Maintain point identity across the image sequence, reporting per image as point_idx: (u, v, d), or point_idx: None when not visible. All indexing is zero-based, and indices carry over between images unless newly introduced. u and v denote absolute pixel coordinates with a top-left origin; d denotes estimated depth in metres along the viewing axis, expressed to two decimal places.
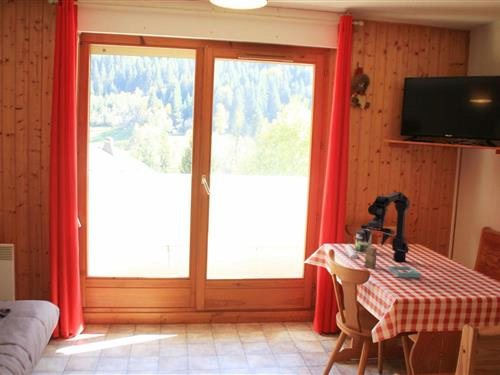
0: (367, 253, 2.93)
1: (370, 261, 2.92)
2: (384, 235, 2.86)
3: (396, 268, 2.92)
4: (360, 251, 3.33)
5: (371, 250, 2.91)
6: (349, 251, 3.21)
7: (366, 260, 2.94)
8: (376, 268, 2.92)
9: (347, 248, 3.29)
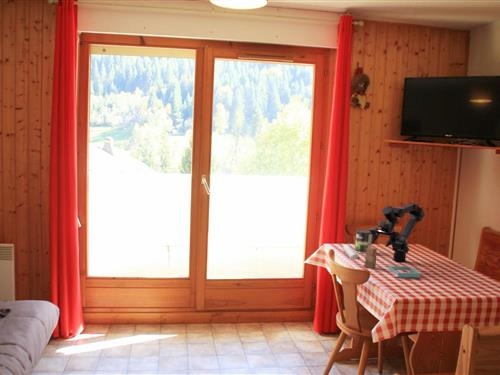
0: (367, 253, 2.93)
1: (370, 261, 2.92)
2: (391, 237, 2.96)
3: (396, 268, 2.92)
4: (360, 251, 3.33)
5: (371, 250, 2.91)
6: (349, 251, 3.21)
7: (366, 260, 2.94)
8: (376, 268, 2.92)
9: (346, 248, 3.29)
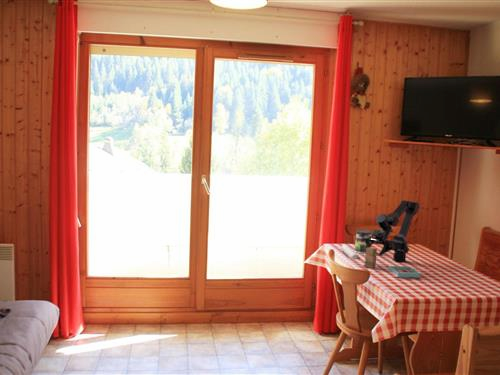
0: (367, 253, 2.93)
1: (370, 261, 2.92)
2: (385, 245, 2.92)
3: (396, 268, 2.92)
4: (360, 251, 3.33)
5: (371, 250, 2.91)
6: (349, 251, 3.21)
7: (366, 260, 2.94)
8: (376, 268, 2.92)
9: (345, 248, 3.29)
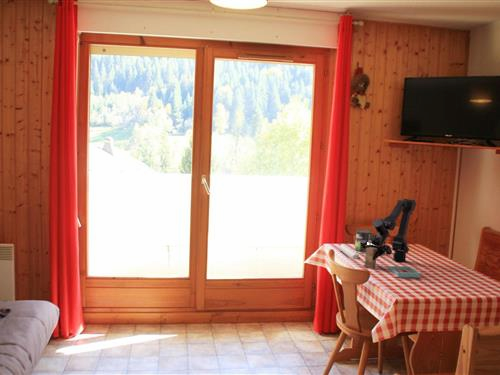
0: (367, 253, 2.93)
1: (370, 261, 2.92)
2: (378, 249, 2.92)
3: (396, 268, 2.92)
4: (360, 251, 3.33)
5: (371, 250, 2.91)
6: (348, 251, 3.21)
7: (366, 260, 2.94)
8: (376, 268, 2.92)
9: (344, 248, 3.29)
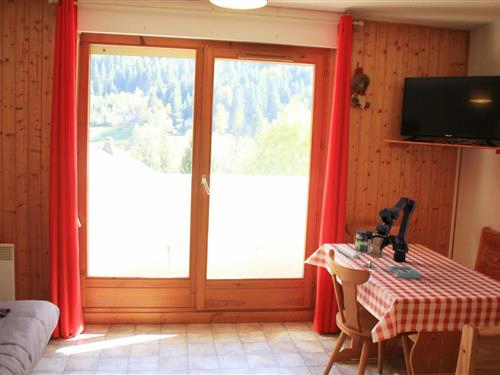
0: (374, 243, 2.90)
1: (377, 251, 2.89)
2: (385, 239, 2.89)
3: (396, 268, 2.92)
4: (360, 251, 3.33)
5: (378, 240, 2.88)
6: (348, 251, 3.20)
7: (373, 250, 2.90)
8: (376, 268, 2.92)
9: (342, 248, 3.28)
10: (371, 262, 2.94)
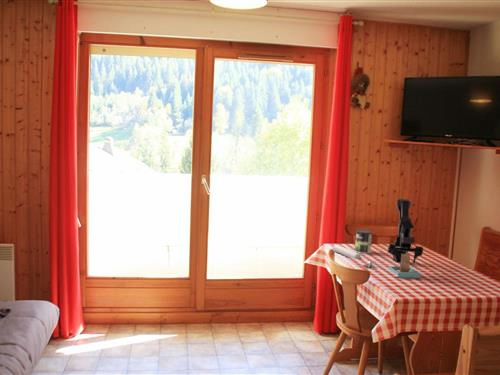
0: (403, 260, 2.84)
1: (407, 268, 2.84)
2: (417, 252, 2.85)
3: (396, 268, 2.92)
4: (360, 251, 3.33)
5: (408, 257, 2.83)
6: (347, 251, 3.20)
7: (402, 268, 2.84)
8: (376, 268, 2.92)
9: (340, 248, 3.27)
10: (371, 262, 2.94)
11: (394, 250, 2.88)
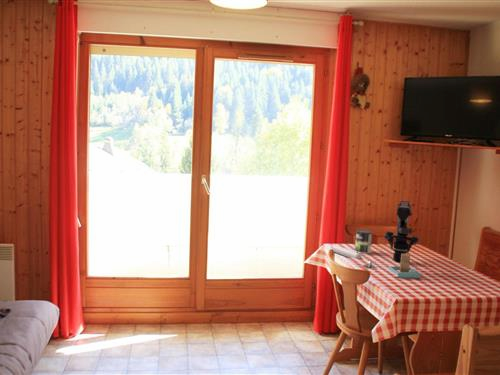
0: (403, 260, 2.84)
1: (407, 268, 2.84)
2: (412, 242, 2.96)
3: (396, 268, 2.92)
4: (360, 251, 3.33)
5: (408, 257, 2.83)
6: (347, 251, 3.20)
7: (402, 268, 2.84)
8: (376, 268, 2.92)
9: (339, 248, 3.27)
10: (371, 262, 2.94)
11: (391, 238, 2.97)
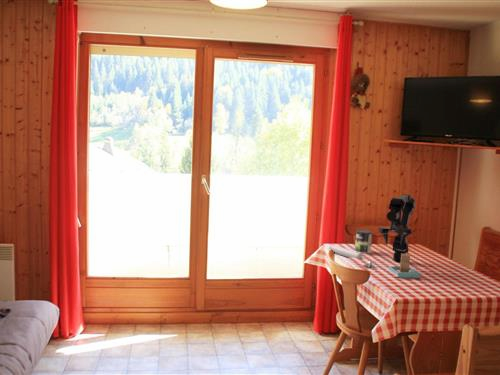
0: (403, 260, 2.84)
1: (407, 268, 2.84)
2: (405, 236, 3.02)
3: (396, 268, 2.92)
4: (360, 251, 3.33)
5: (408, 257, 2.83)
6: (347, 251, 3.20)
7: (402, 268, 2.84)
8: (376, 268, 2.92)
9: (338, 248, 3.26)
10: (371, 262, 2.94)
11: (386, 235, 3.00)
